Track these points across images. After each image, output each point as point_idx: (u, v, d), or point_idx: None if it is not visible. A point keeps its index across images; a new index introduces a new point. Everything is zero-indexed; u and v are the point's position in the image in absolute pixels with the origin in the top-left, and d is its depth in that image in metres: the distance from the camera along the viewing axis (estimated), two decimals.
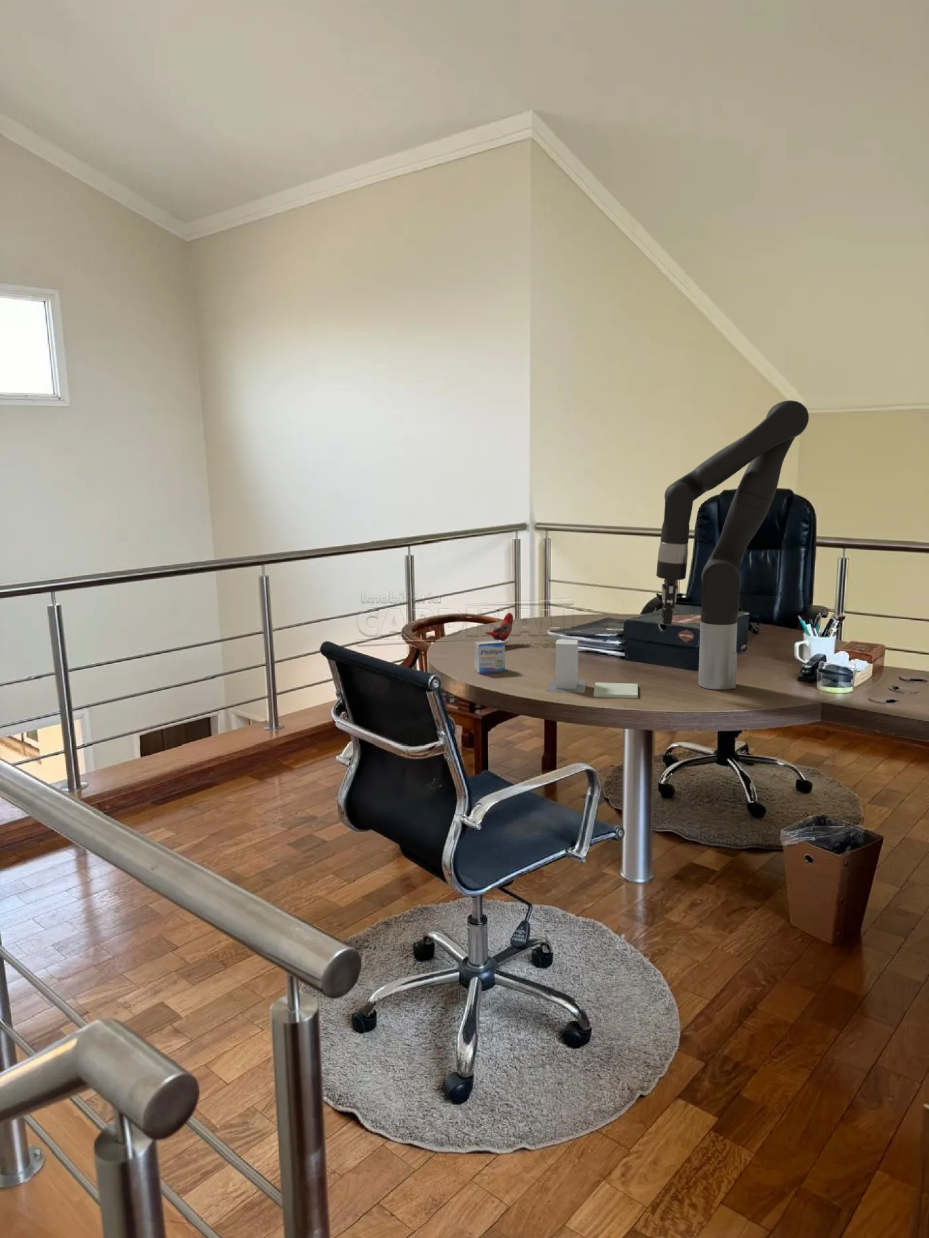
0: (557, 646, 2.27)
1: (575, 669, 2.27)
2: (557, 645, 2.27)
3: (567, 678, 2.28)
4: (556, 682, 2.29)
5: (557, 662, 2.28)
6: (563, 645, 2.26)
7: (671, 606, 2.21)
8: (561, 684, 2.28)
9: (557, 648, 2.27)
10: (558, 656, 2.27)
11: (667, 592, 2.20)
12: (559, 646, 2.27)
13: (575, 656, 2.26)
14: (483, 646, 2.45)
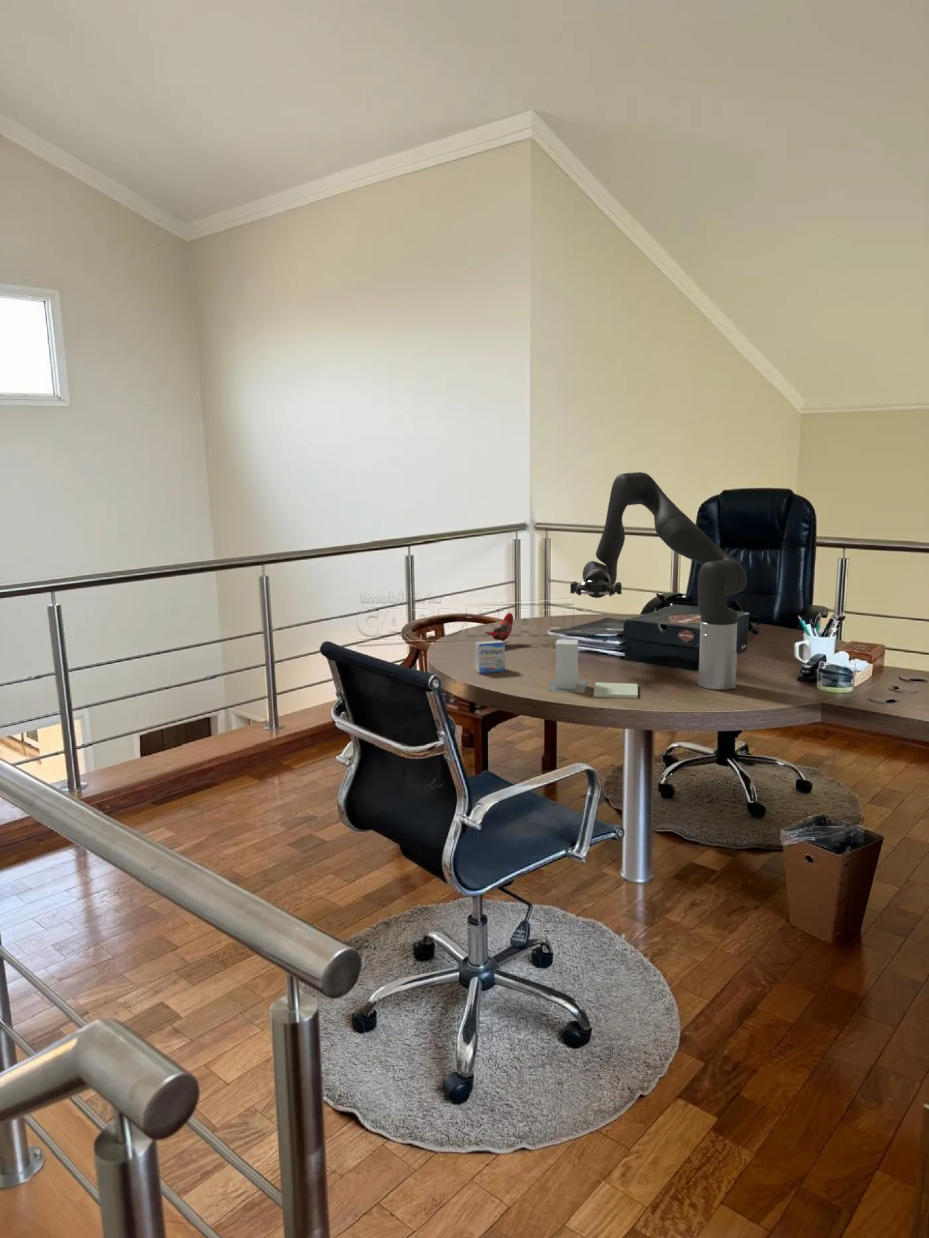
0: (557, 646, 2.27)
1: (575, 669, 2.27)
2: (557, 645, 2.27)
3: (567, 678, 2.28)
4: (556, 682, 2.29)
5: (557, 662, 2.28)
6: (563, 645, 2.26)
7: None
8: (561, 684, 2.28)
9: (557, 648, 2.27)
10: (558, 656, 2.27)
11: None
12: (559, 646, 2.27)
13: (575, 656, 2.26)
14: (483, 646, 2.45)
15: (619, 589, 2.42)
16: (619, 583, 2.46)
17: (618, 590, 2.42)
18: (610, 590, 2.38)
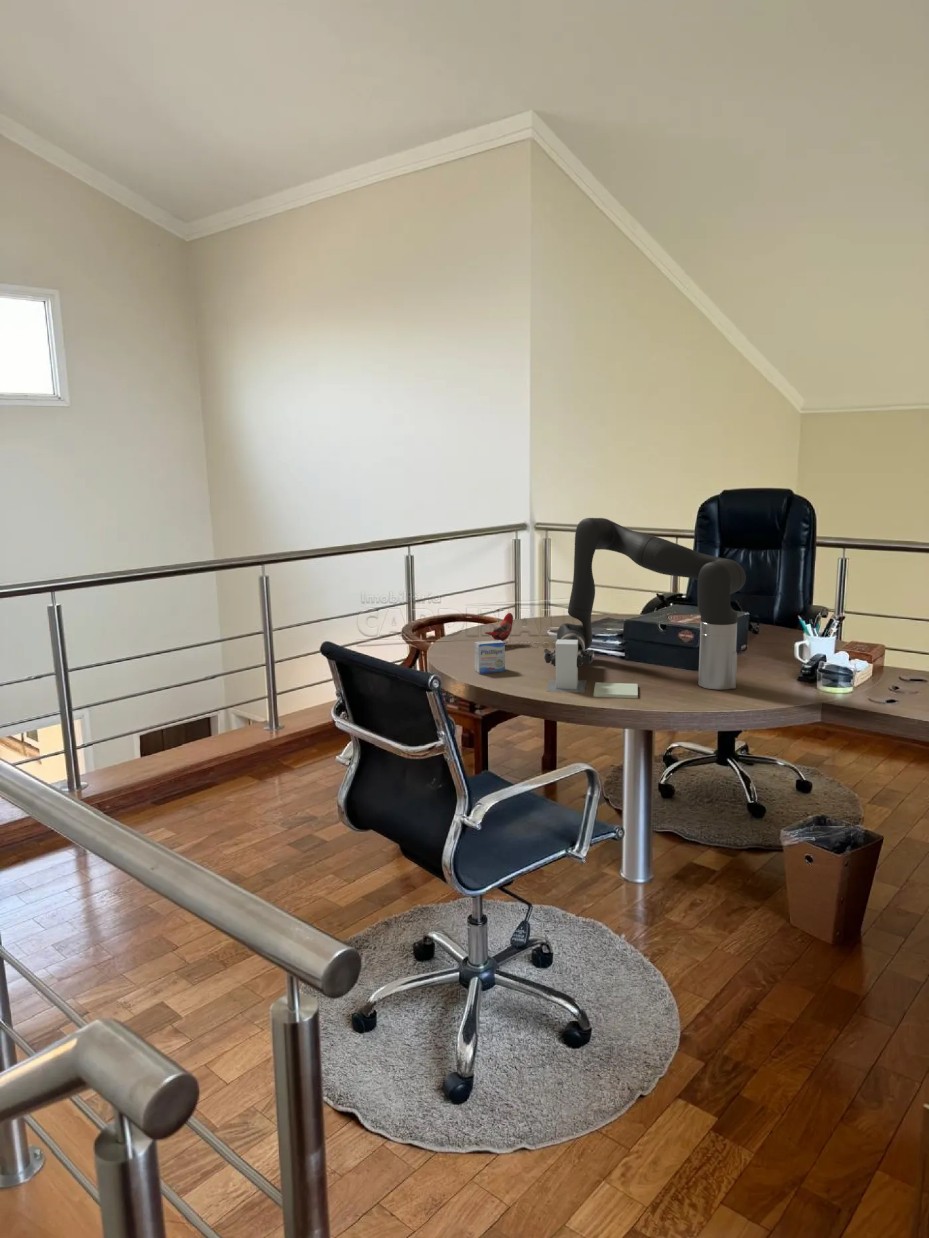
0: (557, 646, 2.27)
1: (575, 669, 2.27)
2: (557, 645, 2.27)
3: (567, 678, 2.28)
4: (556, 682, 2.29)
5: (557, 662, 2.28)
6: (563, 645, 2.26)
7: None
8: (561, 685, 2.28)
9: (557, 648, 2.27)
10: (558, 656, 2.27)
11: (544, 657, 2.37)
12: (559, 646, 2.27)
13: (575, 656, 2.26)
14: (483, 646, 2.45)
15: (587, 659, 2.31)
16: (591, 652, 2.34)
17: (586, 660, 2.31)
18: (577, 661, 2.27)
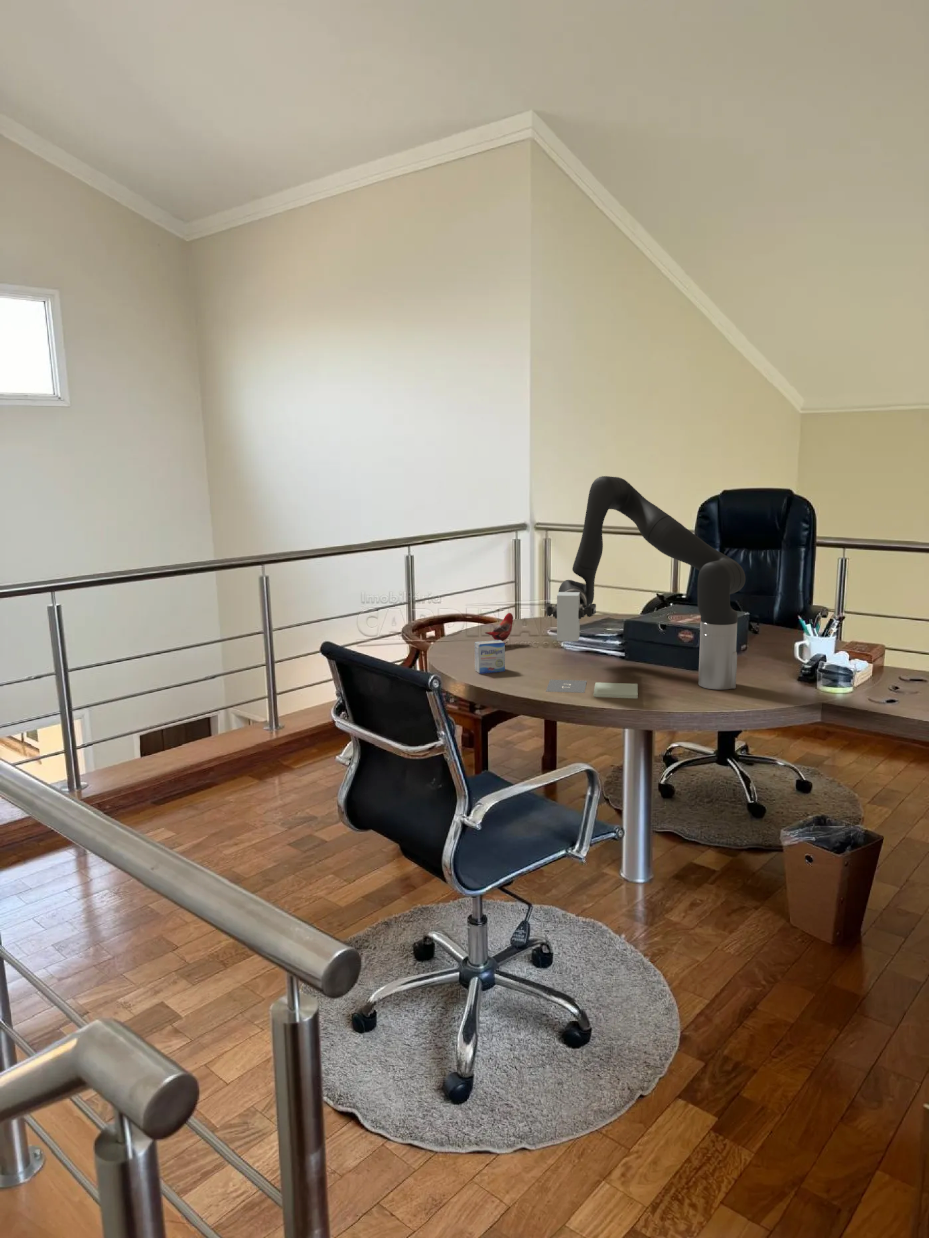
0: (558, 598, 2.24)
1: (577, 621, 2.24)
2: (558, 597, 2.24)
3: (568, 631, 2.25)
4: (557, 634, 2.26)
5: (558, 614, 2.25)
6: (564, 597, 2.24)
7: None
8: (563, 637, 2.26)
9: (558, 600, 2.24)
10: (559, 608, 2.25)
11: None
12: (561, 597, 2.24)
13: (577, 608, 2.24)
14: (483, 646, 2.45)
15: (589, 611, 2.28)
16: (592, 605, 2.32)
17: (588, 612, 2.28)
18: (579, 613, 2.24)
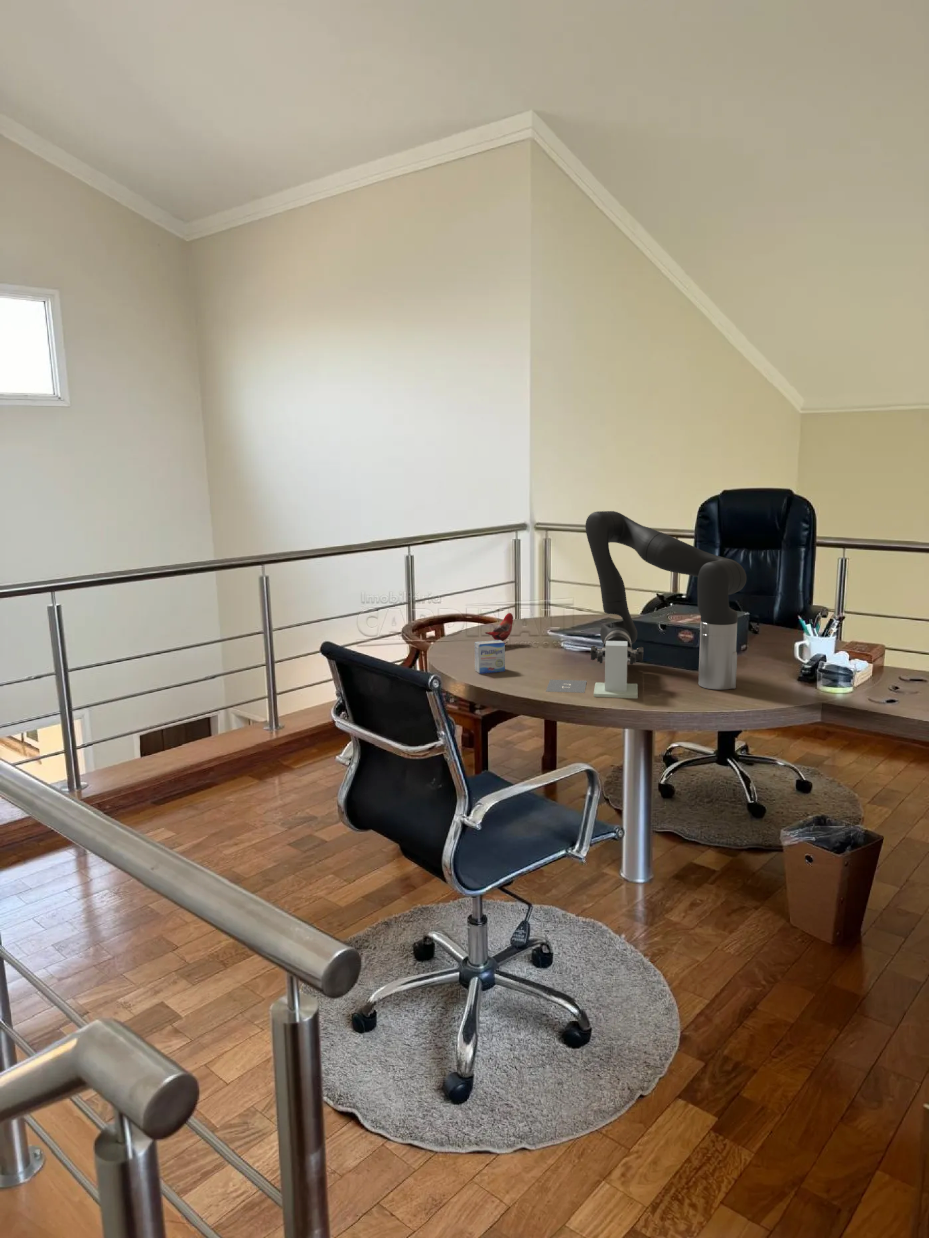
0: (607, 648, 2.20)
1: (625, 671, 2.21)
2: (607, 647, 2.20)
3: (617, 681, 2.21)
4: (605, 685, 2.22)
5: (607, 664, 2.21)
6: (613, 647, 2.20)
7: None
8: (611, 687, 2.22)
9: (607, 650, 2.20)
10: (607, 658, 2.21)
11: None
12: (609, 647, 2.20)
13: (625, 658, 2.20)
14: (483, 646, 2.45)
15: (640, 656, 2.25)
16: (641, 648, 2.28)
17: (639, 657, 2.25)
18: (631, 658, 2.21)
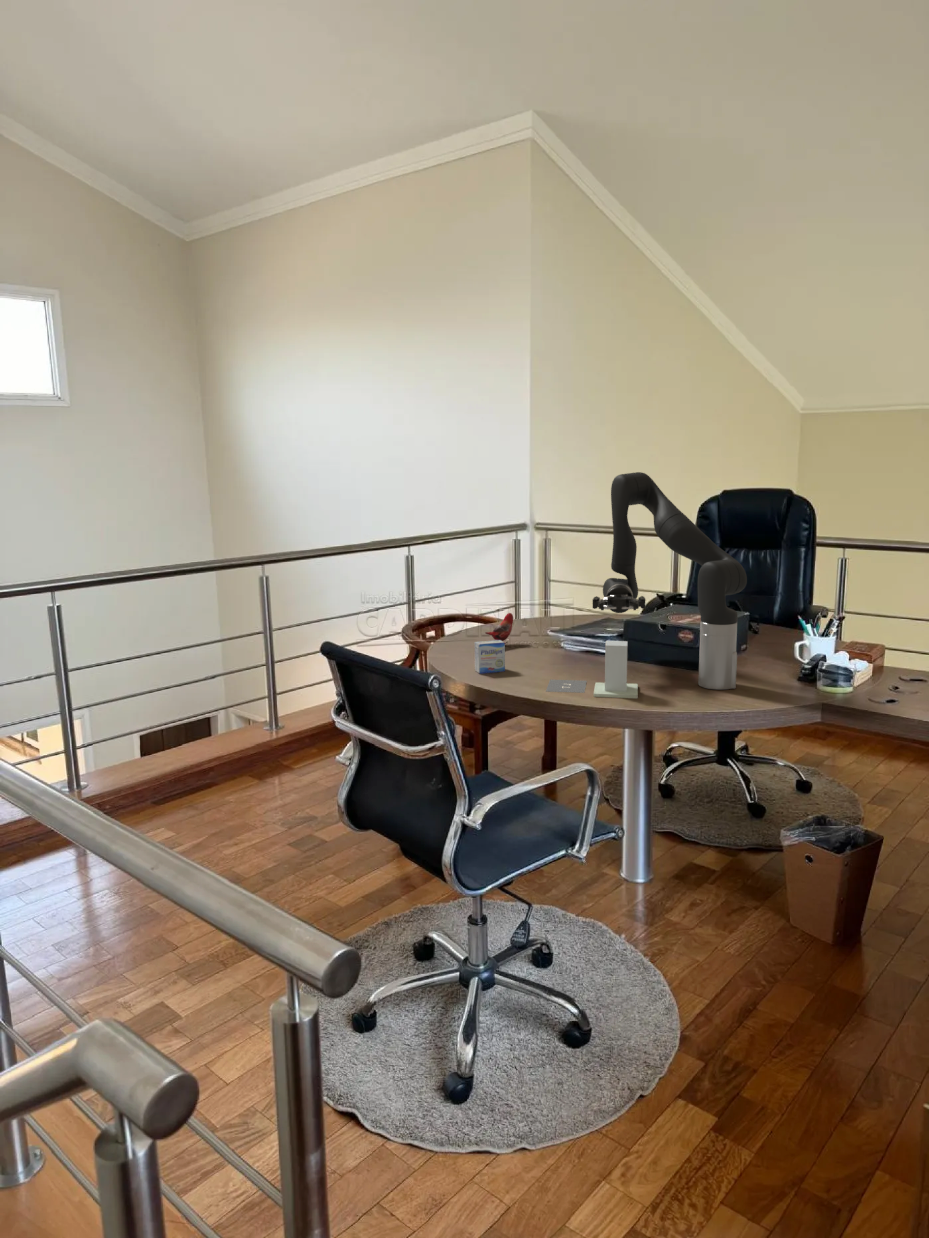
0: (607, 648, 2.20)
1: (625, 671, 2.21)
2: (607, 647, 2.20)
3: (617, 681, 2.21)
4: (605, 685, 2.22)
5: (607, 664, 2.21)
6: (613, 647, 2.20)
7: None
8: (611, 687, 2.22)
9: (607, 650, 2.20)
10: (607, 658, 2.21)
11: None
12: (609, 647, 2.20)
13: (625, 658, 2.20)
14: (483, 646, 2.45)
15: (643, 603, 2.35)
16: (642, 597, 2.39)
17: (642, 604, 2.35)
18: (634, 604, 2.31)
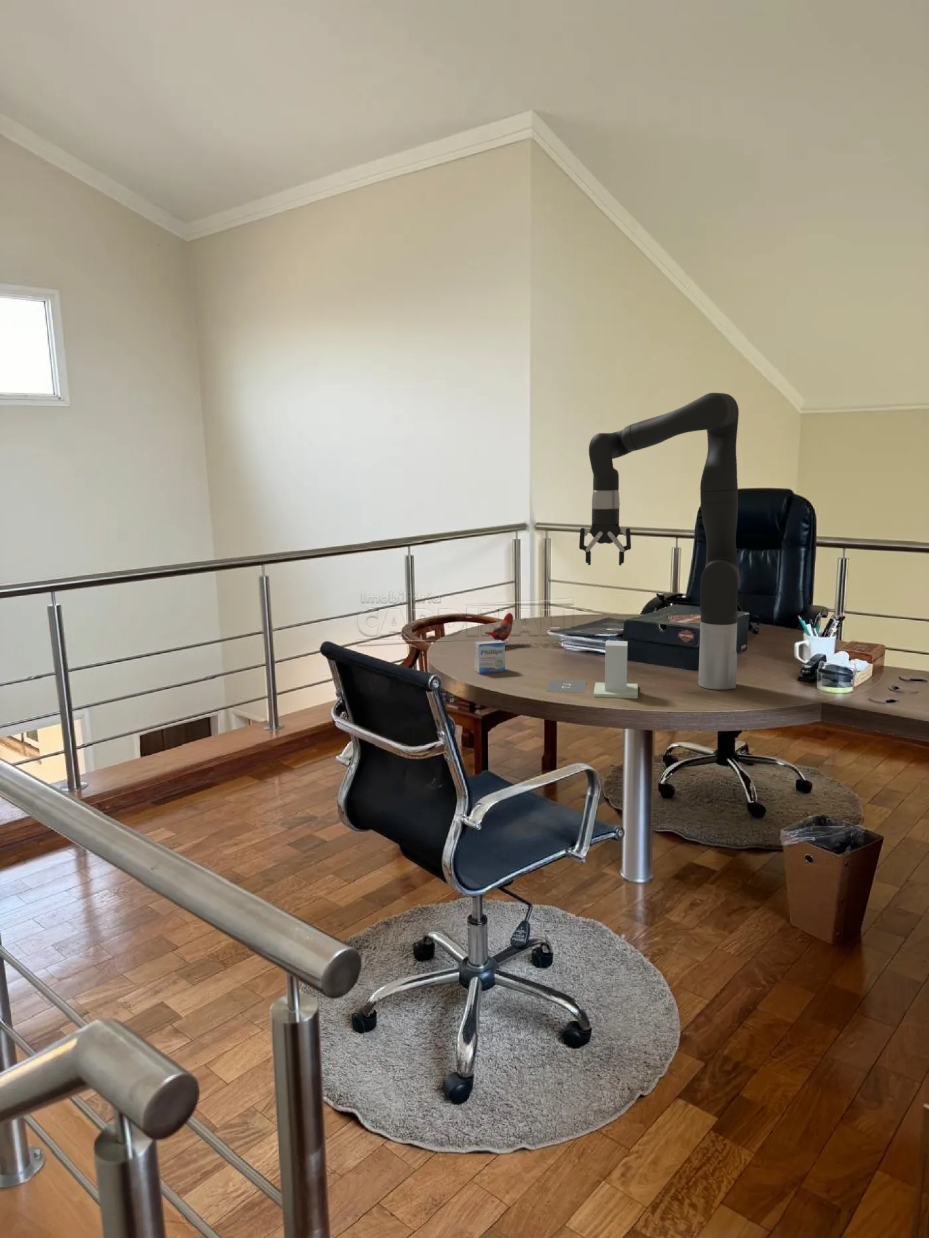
0: (607, 648, 2.20)
1: (625, 671, 2.21)
2: (607, 647, 2.20)
3: (617, 681, 2.21)
4: (605, 685, 2.22)
5: (607, 664, 2.21)
6: (613, 647, 2.20)
7: None
8: (611, 687, 2.22)
9: (607, 650, 2.20)
10: (607, 658, 2.21)
11: None
12: (609, 647, 2.20)
13: (625, 658, 2.20)
14: (483, 646, 2.45)
15: None
16: (628, 535, 2.39)
17: (627, 549, 2.41)
18: None
